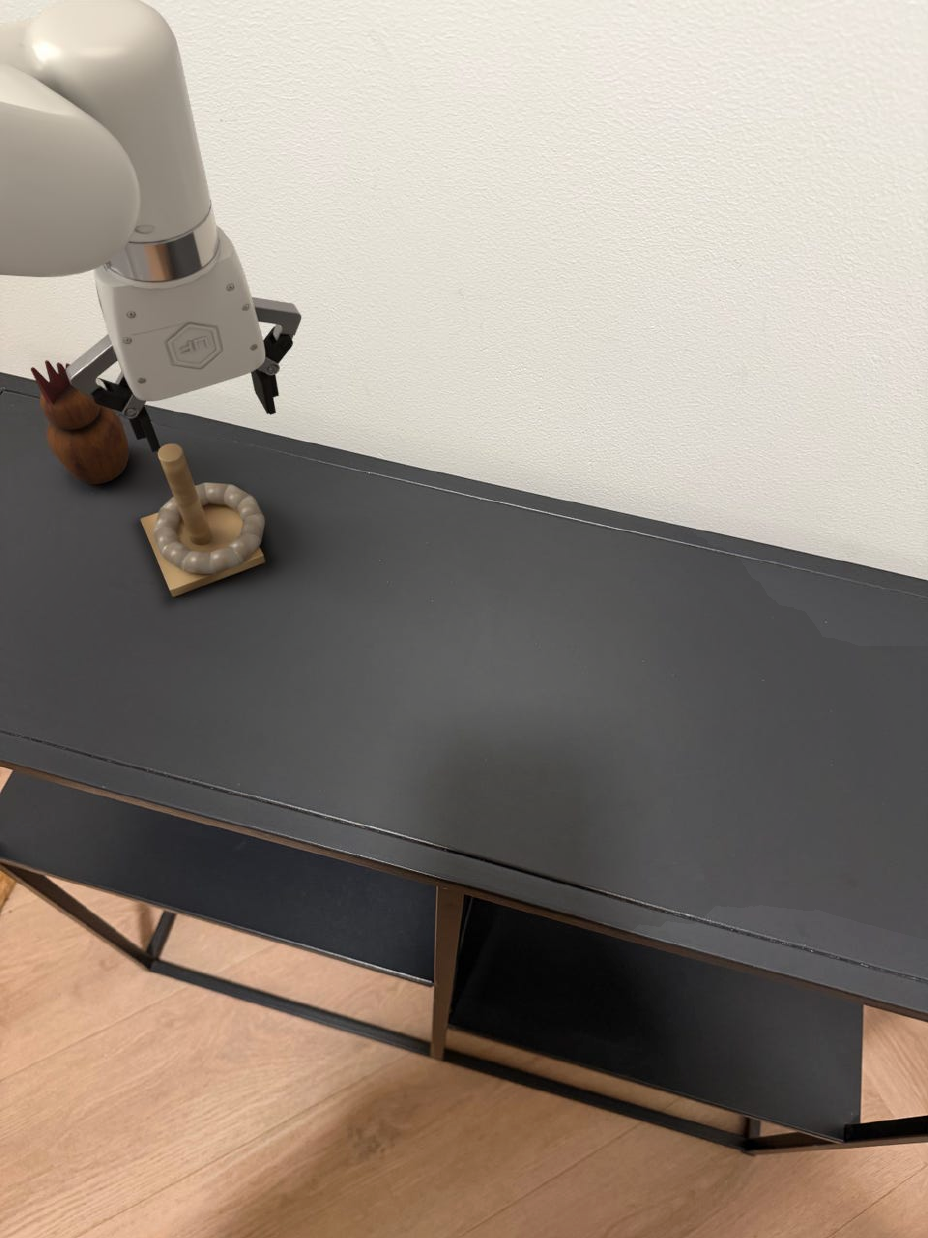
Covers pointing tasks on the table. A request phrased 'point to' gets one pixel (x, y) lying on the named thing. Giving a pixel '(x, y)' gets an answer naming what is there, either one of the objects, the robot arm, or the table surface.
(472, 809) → the table surface
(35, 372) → the wooden figurine
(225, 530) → the post
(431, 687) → the table surface
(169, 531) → the ring
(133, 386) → the robot arm
